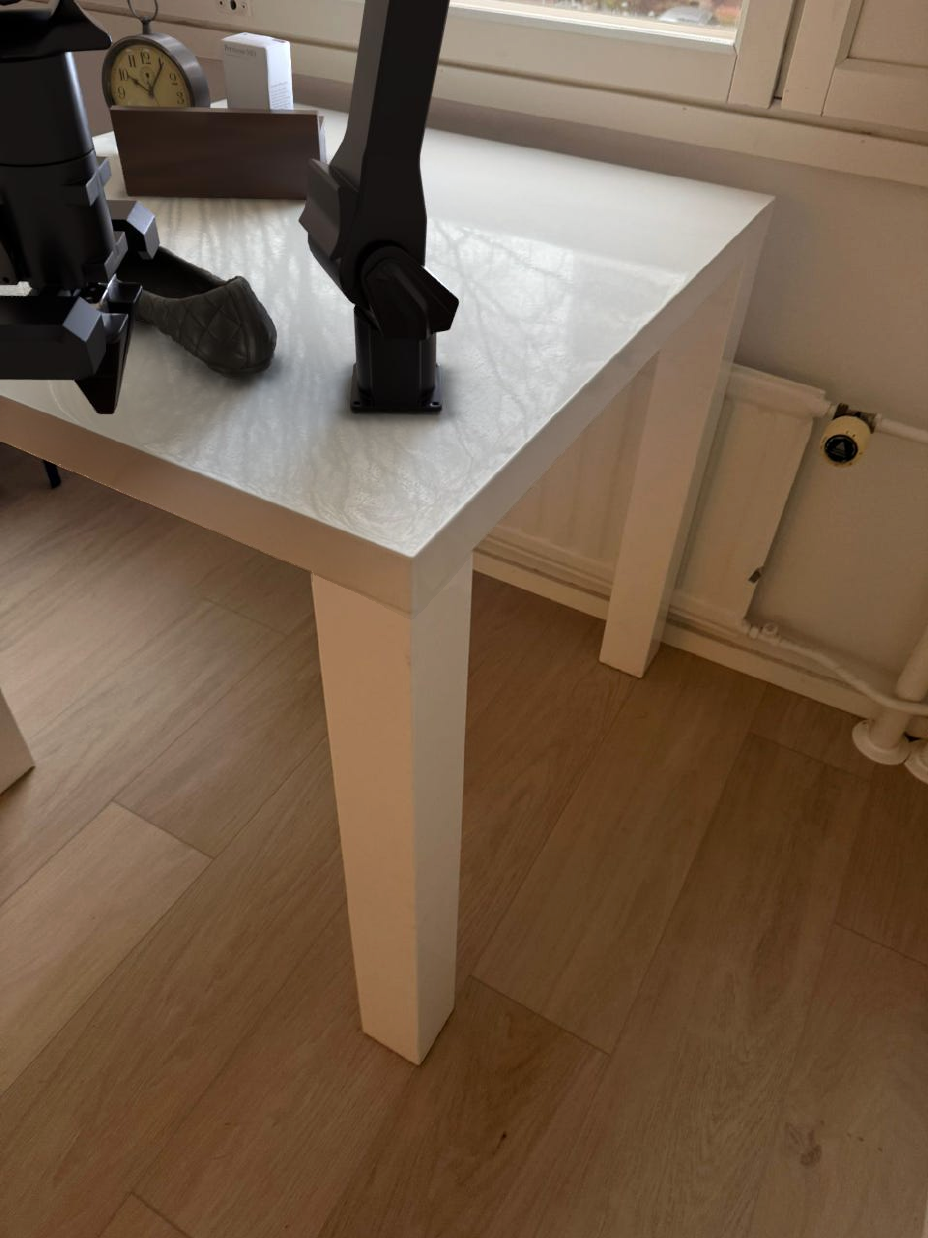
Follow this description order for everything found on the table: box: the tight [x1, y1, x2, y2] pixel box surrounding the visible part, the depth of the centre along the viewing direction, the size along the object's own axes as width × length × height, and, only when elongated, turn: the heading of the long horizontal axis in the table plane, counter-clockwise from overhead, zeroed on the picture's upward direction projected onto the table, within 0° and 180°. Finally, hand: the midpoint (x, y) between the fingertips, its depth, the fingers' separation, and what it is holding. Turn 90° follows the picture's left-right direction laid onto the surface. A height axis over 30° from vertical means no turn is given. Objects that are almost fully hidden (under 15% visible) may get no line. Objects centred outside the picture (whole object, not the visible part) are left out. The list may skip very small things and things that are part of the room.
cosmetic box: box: [220, 31, 294, 110], centre depth 98 cm, size 6×4×12 cm
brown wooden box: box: [108, 105, 328, 200], centre depth 94 cm, size 7×20×8 cm, turn 93°
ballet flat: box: [115, 243, 278, 379], centre depth 71 cm, size 9×26×7 cm, turn 46°
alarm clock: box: [101, 0, 212, 113], centre depth 98 cm, size 11×5×16 cm, turn 73°
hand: (107, 411), depth 59 cm, fingers closed
